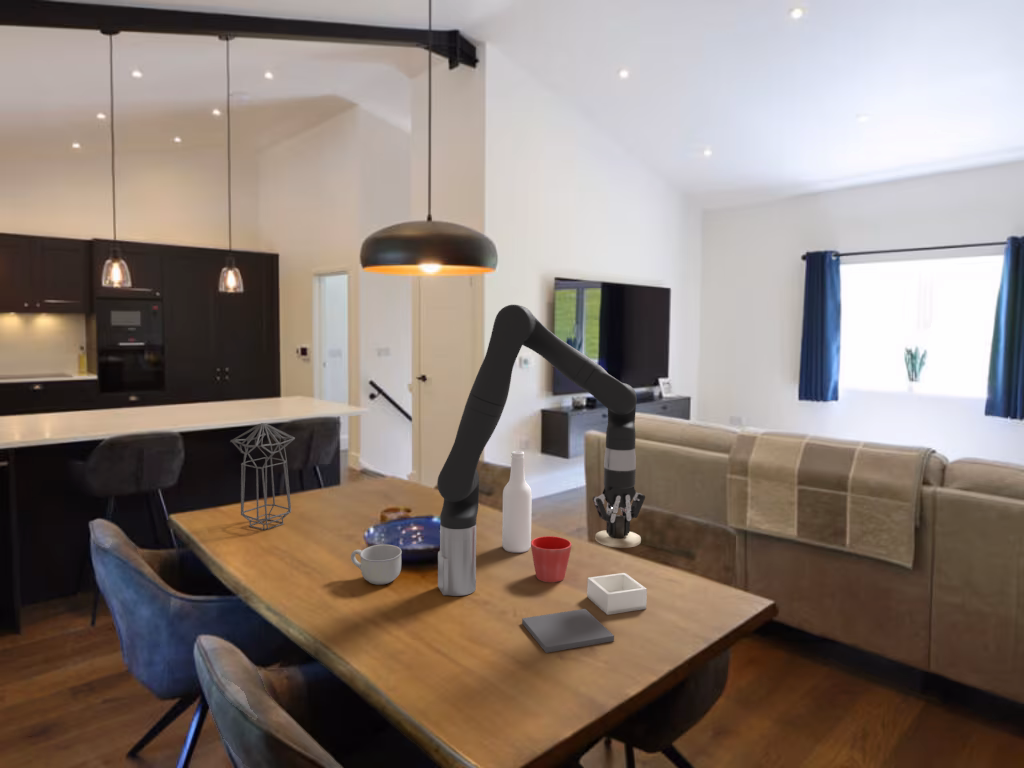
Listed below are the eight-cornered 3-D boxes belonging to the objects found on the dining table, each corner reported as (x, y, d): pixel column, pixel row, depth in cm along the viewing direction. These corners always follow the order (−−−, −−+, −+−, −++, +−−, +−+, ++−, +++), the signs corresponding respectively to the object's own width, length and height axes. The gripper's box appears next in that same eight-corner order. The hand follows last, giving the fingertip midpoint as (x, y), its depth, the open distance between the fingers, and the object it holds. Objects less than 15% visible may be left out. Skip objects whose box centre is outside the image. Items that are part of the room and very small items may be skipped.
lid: (608, 549, 148) (609, 525, 148) (587, 535, 159) (588, 512, 158) (649, 544, 152) (650, 521, 152) (626, 530, 162) (626, 508, 162)
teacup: (409, 577, 172) (409, 548, 171) (385, 591, 162) (385, 561, 161) (367, 568, 177) (367, 540, 177) (342, 581, 168) (341, 552, 167)
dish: (607, 614, 150) (607, 594, 150) (587, 596, 160) (587, 577, 160) (646, 608, 154) (646, 588, 153) (624, 591, 164) (624, 572, 163)
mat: (546, 652, 132) (546, 647, 132) (522, 623, 145) (522, 618, 145) (614, 641, 138) (614, 635, 138) (585, 613, 151) (585, 608, 151)
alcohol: (531, 544, 199) (533, 449, 196) (529, 554, 190) (531, 455, 187) (503, 542, 200) (505, 448, 197) (500, 552, 191) (501, 454, 188)
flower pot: (568, 586, 166) (569, 550, 166) (527, 582, 169) (527, 547, 168) (572, 571, 177) (573, 537, 176) (533, 568, 179) (534, 534, 178)
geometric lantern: (300, 523, 216) (297, 422, 212) (260, 537, 203) (256, 429, 199) (270, 515, 225) (267, 417, 221) (230, 527, 211) (226, 424, 207)
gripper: (601, 471, 148) (599, 543, 149) (653, 467, 153) (651, 537, 154) (586, 464, 155) (585, 533, 156) (637, 461, 160) (635, 528, 161)
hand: (618, 535), depth 155 cm, fingers closed on lid, 3 cm apart
